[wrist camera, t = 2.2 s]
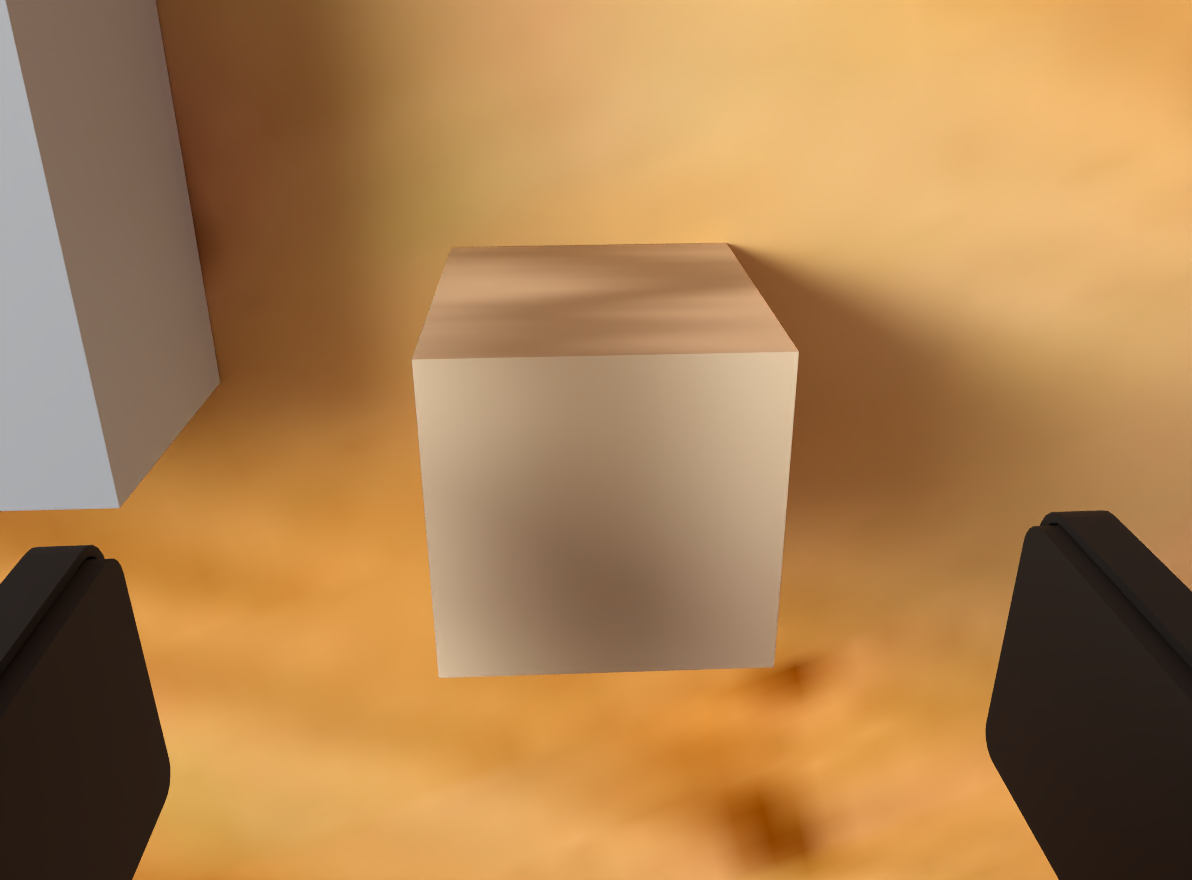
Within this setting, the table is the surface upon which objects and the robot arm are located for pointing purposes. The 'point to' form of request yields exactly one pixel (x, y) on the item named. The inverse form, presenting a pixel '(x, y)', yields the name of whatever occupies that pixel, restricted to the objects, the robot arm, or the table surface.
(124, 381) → the grey block
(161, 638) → the table surface
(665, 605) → the birch block
